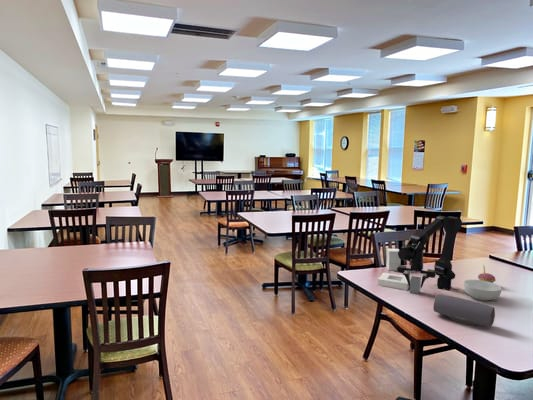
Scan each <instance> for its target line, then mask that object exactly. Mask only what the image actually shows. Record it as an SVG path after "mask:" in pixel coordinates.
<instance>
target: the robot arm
mask: <svg viewBox="0 0 533 400" xmlns="http://www.w3.org/2000/svg"><path fill="white" fill-rule="evenodd" d="M462 225H463V221H462V218H460V217H457V216H456V217H455V216H447V217H446V216H443V215H437V216H436V218H435V219H434V220H432V221H431V222H430V223H429V224H428V225H427V226H425V227H424V228H423V229H422V230H419V231H416V232H414V233H413V234H411V235H410V238H408V239H409V240H408V241H407V242H406V244H405V246H401V248H400V249H399V252H398V256H399V258H400V259H401V261H406V260H409V264H408V265H409V266H410V267H409V268H408V267H407V265H402V264H400V265H399V266H398V268H397V271H396V272H397V274H398V273H400V274H402V276H405V277H406V279H407V282H408V285H409V286H410V277H411V273H413V274H421V275H422V277H421V285H420V289H423V286H424V283H425V281H426V280H427V279H429V278H432V279H433V278H434V279H435V278H436V276H438V277H437V282H436V286H437V289H440V290H446V291H447V290H448V291H451V290H452V280H454V279H455V278H456V273H455V272H454V271H453V264H452V261H451V260H452V259H451V258H452V253H453V250H454V244H455V241H456V240H455V239H456V235H457V234H458V233H459V232H460V231H461V228H462ZM443 226H444V230H445V235H444V241H443V244H442V245H443V246H442V249H441V252H440V253H441V254H440V257H439V258H438V259H435V261H434V264H433V268H434V269H429V268H428V269H427V270H424V251H426V250H427V249H428V248H426V246H425V245H426V244H427V243H428V242H429V239H430V237H432V236H433V235H434V234H435V233H436V232H437V231H438V230H439V229H441V227H443Z"/></svg>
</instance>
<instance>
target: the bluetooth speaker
mask: <svg viewBox="0 0 533 400" xmlns="http://www.w3.org/2000/svg"><path fill="white" fill-rule="evenodd" d="M432 307H433V312H435V313H437V314H440V315H443V316H446V317H449V319H450V320H451V321H452V320H453V321H456V322H459V323H462V324H465V325H470V326H476V325H479V326H480V325H481V326H485V327H488V328H489V327H490V328H492V326H493V324H494V323H495V318H496V313H495V312H496V311H495V307H494V306H491V305H488V304H484V303H481V302H478V301H475V300H469V299H467V298H461V297H458V296H452V295H448V294H447V295H446V294H443V293H442V294H441V293H437V294H436V295H435V297H434V302H433V306H432Z"/></svg>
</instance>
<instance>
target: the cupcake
mask: <svg viewBox="0 0 533 400" xmlns="http://www.w3.org/2000/svg"><path fill="white" fill-rule="evenodd" d="M477 280H482V281H487V282H491V283H495V282H496V277H495V276H494V275H493V274H491V273H487V272H486V268H485V265H484V264H483V273H480V274H478V275H477Z"/></svg>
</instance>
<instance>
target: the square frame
mask: <svg viewBox="0 0 533 400" xmlns="http://www.w3.org/2000/svg"><path fill="white" fill-rule="evenodd" d="M411 277H412V276H410V280H411ZM377 286H381V287H387V288H392V289H397V290H398V289H399V290H403V291H404V290H405V291H408V290H409V289H410V286H409V285H408V282H407V279H406V277H405V275H403V274H402V275H401V274H395V273H390V272H389V273H388V272H382V274H381V275H380V276H379V277H378V278H377Z"/></svg>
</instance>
